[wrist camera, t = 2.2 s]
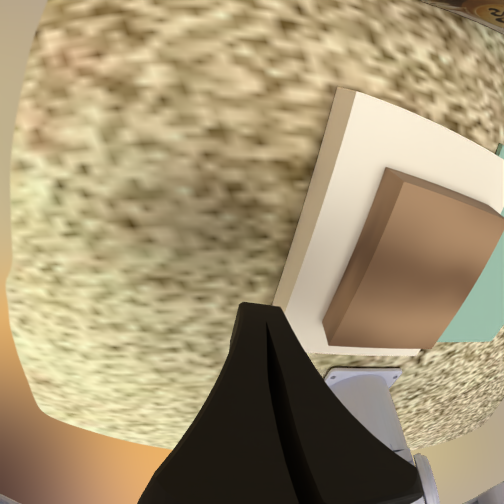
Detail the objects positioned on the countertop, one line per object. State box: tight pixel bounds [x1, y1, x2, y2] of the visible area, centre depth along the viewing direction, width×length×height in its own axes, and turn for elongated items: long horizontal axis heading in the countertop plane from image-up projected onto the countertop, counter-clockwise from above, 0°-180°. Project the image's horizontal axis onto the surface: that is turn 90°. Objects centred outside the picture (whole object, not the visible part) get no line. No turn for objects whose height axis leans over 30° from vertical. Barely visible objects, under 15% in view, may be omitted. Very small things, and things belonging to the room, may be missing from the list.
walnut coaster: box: [322, 167, 504, 349], centre depth 16 cm, size 10×8×2 cm
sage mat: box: [437, 143, 504, 342], centre depth 21 cm, size 18×14×1 cm
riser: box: [272, 87, 504, 356], centre depth 18 cm, size 16×12×3 cm
